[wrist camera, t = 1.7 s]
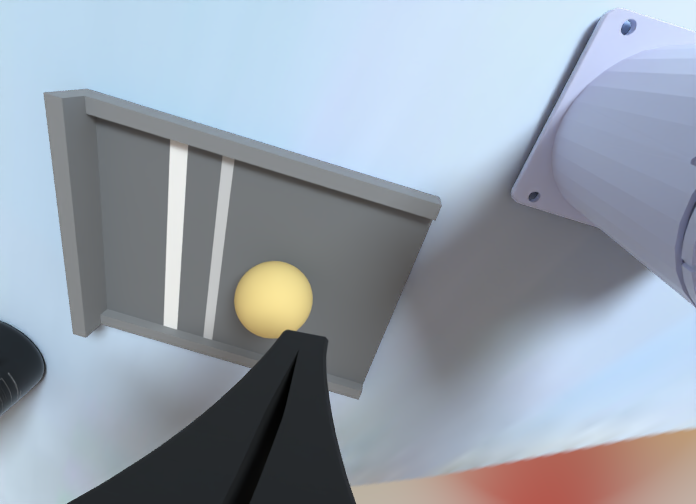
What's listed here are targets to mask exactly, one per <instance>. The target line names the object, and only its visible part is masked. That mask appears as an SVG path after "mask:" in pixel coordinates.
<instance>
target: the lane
mask: <svg viewBox="0 0 696 504" xmlns="http://www.w3.org/2000/svg"><path fill="white" fill-rule="evenodd" d="M44 100H45V108H46V117H47V125H48V133H49V141H50V149H51V157H52V166H53V174H54V182H55V190H56V198H57V206H58V214H59V223H60V231H61V239H62V247H63V255H64V263H65V271H66V280H67V288H68V296H69V304H70V312H71V320H72V329H73V334H75V335H79V336H82V337H87V336H88V335H89V334H91V333H92V332H93V331H94V330H95V329H96V328H97V327H99V326H100V325H101V324H103V325H106V326H109V327H113V328H116V329H120V330H123V331H127V332H130V333H133V334H137V335H140V336H144V337H147V338H150V339H154V340H157V341H161V342H164V343H167V344H171V345H174V346H178V347H181V348H184V349H188V350H191V351H195V352H198V353H202V354H205V355H208V356H212V357H215V358H219V359H222V360H225V361H229V362H232V363H236V364H239V365H242V366H246V367H249V368H253V366H254V365H255V364H256V363H257V362H258V361H259V360H260V359H261V358H262V357H263V356H264V355H265V353H266V352H267V351H268V350H269V349H270V348H271V347H272V345H273V344H274V343H275V342H276V340H277V339H278V338H275V339H272V338H263V337H260V336H257V335H255V334H253V333H251V332H250V331H249V330H247V329H246V328H245V327H244V325H243V324H242V323H241V322H240V320H239V318H238V316H237V314H236V311H235V305H234V296H235V291H236V288H237V285H238V283H239V281H240V280H241V278H242V277H243V276H244V274H245V273H246V272H247V271H248V270H250V269H251V268H252V267H254V266H256V265H258V264H261V263H263V262H268V261H281V262H286V263H288V264H291V265H293V266H295V267H296V268H298V269H299V270H300V271H301V272H302V273H303V274H304V275H305V276H306V278H307V280H308V281H309V283H310V286H311V289H312V294H313V304H312V308H311V312H310V314H309V316H308V318H307V320H306V321H305V323H304V324H303V325H302V326H301V327H300V328H299V329H298V330H297V331H298V332H303V333H308V334H313V335H319V336H324V337H326V338H327V339H328V340H329V341H328V348H327V355H326V367H327V383H328V391H331V392H335V393H338V394H341V395H345V396H348V397H352V398H355V399H358V400H359V397H360V395H361V393H362V387H363V382H364V380H365V378H366V375H367V373H368V371H369V368H370V366H371V364H372V361H373V359H374V356H375V354H376V352H377V349H378V347H379V345H380V342H381V340H382V338H383V335H384V333H385V331H386V328H387V326H388V324H389V321H390V319H391V316H392V314H393V312H394V309H395V307H396V305H397V302H398V300H399V298H400V295H401V293H402V291H403V288H404V286H405V283H406V281H407V279H408V276H409V274H410V272H411V269H412V267H413V265H414V262H415V260H416V258H417V255H418V253H419V251H420V248H421V246H422V243H423V241H424V239H425V236H426V234H427V232H428V229H429V227H430V225H431V222H432V220H436V218H437V216H438V213H439V211H440V209H441V206H442V205H441V201H440V198H439V197H437V196H434V195H431V194H427V193H424V192H421V191H418V190H414V189H411V188H408V187H405V186H401V185H398V184H395V183H392V182H388V181H385V180H382V179H379V178H375V177H372V176H369V175H366V174H362V173H359V172H356V171H353V170H349V169H346V168H343V167H340V166H336V165H333V164H330V163H327V162H323V161H320V160H317V159H314V158H310V157H307V156H304V155H301V154H297V153H294V152H291V151H288V150H284V149H281V148H278V147H275V146H271V145H268V144H265V143H262V142H258V141H255V140H252V139H249V138H245V137H242V136H239V135H236V134H232V133H229V132H226V131H223V130H219V129H216V128H213V127H210V126H206V125H203V124H200V123H197V122H193V121H190V120H187V119H184V118H180V117H177V116H174V115H171V114H167V113H164V112H161V111H158V110H154V109H151V108H148V107H145V106H141V105H138V104H135V103H132V102H128V101H125V100H122V99H119V98H115V97H112V96H109V95H106V94H102V93H99V92H96V91H93V90H89V89H80V90H68V91H56V92H45V93H44Z"/></svg>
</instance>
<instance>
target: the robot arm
mask: <svg viewBox="0 0 696 504" xmlns="http://www.w3.org/2000/svg"><path fill="white" fill-rule="evenodd" d="M627 20H628V21H629V22H630V24H631V27H630V30H629V32H628V33H627V34H626V35H623V34H622V33H621V27H622V25H623V23H624V22H625V21H627ZM532 192H537V193H538V194H537V197H536V198H535V199H532V200H529V199H528V197H529V195H530V194H531V193H532ZM511 196H512V198H513V199H514V200H515V202H517V203H519V204H523V205H526V206H529V207H532V208H535V209H539V210H542V211H545V212H548V213H552V214H555V215H558V216H561V217H565V218H568V219H571V220H574V221H578V222H581V223H584V224H587V225H590V226H594V227H597V228H599V229H601V230H602V231H603V232H604V233H605V234H607V235H608V236H609V237H610V238H612V239H613V240H614V241H615V242H616V243H618V244H619V245H620V246H621V247H623V248H624V249H625V250H626V251H627V252H629V253H630V254H631V255H632V256H633V257H635V258H636V259H637V260H638V261H640V262H641V263H642V264H643V265H644V266H646V267H647V268H648V269H649V270H651V271H652V272H653V273H654V274H655V275H657V276H658V277H659V278H660V279H662V280H663V281H664V282H665V283H666V284H668V285H669V286H670V287H671V288H672V289H674V290H675V291H676V292H677V293H679V294H680V295H681V296H682V297H683V298H685V299H686V300H687V301H688V302H690V303H691V304H692V305H693V306H694V307H696V31H693V30H690V29H687V28H684V27H681V26H677V25H674V24H671V23H668V22H665V21H662V20H659V19H656V18H653V17H650V16H647V15H644V14H640V13H637V12H634V11H631V10H628V9H625V8H615V9H612V10H609V11H607V12H606V13H605V14H603V16H602V17H601V18H600V20H599V22H598V23H597V25H596V27H595V29H594V31H593V33H592V35H591V37H590V39H589V41H588V43H587V45H586V47H585V49H584V51H583V52H582V54H581V56H580V58H579V60H578V62H577V64H576V66H575V68H574V70H573V72H572V74H571V76H570V78H569V79H568V81H567V83H566V85H565V87H564V89H563V91H562V93H561V95H560V97H559V99H558V101H557V103H556V105H555V107H554V108H553V110H552V112H551V114H550V116H549V118H548V120H547V122H546V124H545V126H544V128H543V130H542V132H541V134H540V136H539V137H538V139H537V141H536V143H535V145H534V147H533V149H532V151H531V153H530V155H529V157H528V159H527V161H526V163H525V164H524V166H523V168H522V170H521V172H520V174H519V176H518V178H517V180H516V182H515V184H514V186H513V188H512V190H511ZM328 341H329V340H328V339H327V338H326V337H324V336H319V335H313V334H308V333H303V332H298V331H293V330H285V331H283V332H282V334H281V335H280V337H279V338H278V339H277V340H276V342H275V343H274V344H273V345H272V347H271V348H270V349H269V350H268V351H267V352H266V353H265V355H264V356H263V357H262V358H261V359H260V360H259V361H258V362H257V363H256V364H255V365H254V366H253V368H252V369H251V370H250V371H249V372H248V373H247V374H246V375H245V376H244V377H243V378H242V379H241V380H240V381H239V382H238V383H237V384H236V385H235V386H234V387H232V388H231V389H230V390H229V391H228V392H227V393H226V394H225V395H224V396H223V397H222V398H221V399H220V400H218V401H217V402H216V403H215V404H214V405H213V406H212V407H210V408H209V409H208V410H207V411H206V412H204V413H203V414H202V415H201V416H200V417H198V418H197V419H196V420H195V421H193V422H192V423H191V424H190V425H188V426H187V427H186V428H184V429H183V430H182V431H180V432H179V433H177V434H176V435H175V436H173V437H172V438H171V439H169V440H168V441H167V442H165V443H164V444H163V445H161V446H160V447H158V448H157V449H155V450H154V451H152V452H151V453H150V454H148V455H146V456H145V457H143V458H142V459H140V460H139V461H137V462H136V463H134V464H132V465H131V466H129V467H128V468H126V469H125V470H123V471H122V472H120V473H118V474H117V475H115V476H114V477H112V478H111V479H109V480H107V481H106V482H104V483H102V484H101V485H99V486H97V487H95V488H94V489H92V490H90V491H88V492H87V493H85V494H83V495H81V496H79V497H78V498H76V499H74V500H72V501H71V502H69V503H67V504H356V502H355V499H354V497H353V493H352V491H351V487H350V484H349V481H348V478H347V475H346V471H345V468H344V464H343V461H342V457H341V453H340V449H339V445H338V441H337V437H336V433H335V428H334V423H333V418H332V412H331V406H330V400H329V391H328V383H327V367H326V355H327V348H328Z"/></svg>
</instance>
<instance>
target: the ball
mask: <svg viewBox="0 0 696 504" xmlns="http://www.w3.org/2000/svg"><path fill="white" fill-rule="evenodd" d="M312 304H313V294H312V289H311V286H310V283H309V281H308V280H307V278H306V276H305V275H304V274H303V273H302V272H301V271H300V270H299V269H298V268H296V267H295V266H293V265H291V264H288V263H286V262H281V261H268V262H263V263H261V264H258V265H256V266H254V267H252V268H251V269H250V270H248V271H247V272H246V273H245V274H244V276H243V277H242V278H241V280H240V281H239V283H238V285H237V288H236V291H235V296H234V305H235V311H236V314H237V316H238V318H239V320H240V322H241V323H242V324H243V325H244V327H245V328H246V329H247V330H249V331H250V332H251V333H253V334H255V335H257V336H260V337H263V338H272V339H275V338H279V337H280V335H281V334H282V332H283V331H285V330H293V331H297V330H298V329H299V328H300V327H301V326H302V325H303V324H304V323H305V321H306V320H307V318H308V316H309V314H310V312H311V308H312Z"/></svg>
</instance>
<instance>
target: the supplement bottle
mask: <svg viewBox="0 0 696 504" xmlns="http://www.w3.org/2000/svg"><path fill="white" fill-rule="evenodd" d="M43 373H44V361H43V358H42V356H41V354H40V352H39V351H38V349H37V348H36V346H35V345H34V344H33V343H32V342H31V341H30V340H29V339H28V338H27V337H26V336H25V335H23V334H22V333H21V332H19V331H18V330H16V329H15V328H13V327H12V326H10V325H8V324H6V323H3V322H1V321H0V417H1V416H2V415H3V414H4V413H5V412H6V411H7V410H8V409H10V408H11V407H12V406H13V405H14V404H15V403H16V402H18V401H19V400H20V399H21V398H22V397H23V396H24V395H25V394H26V393H28V392H29V391H30V390H31V389H32V388H33V387H34V386H35V385H36V384H37V383H38V382H39V381H40V380H41V378H42V376H43Z"/></svg>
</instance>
